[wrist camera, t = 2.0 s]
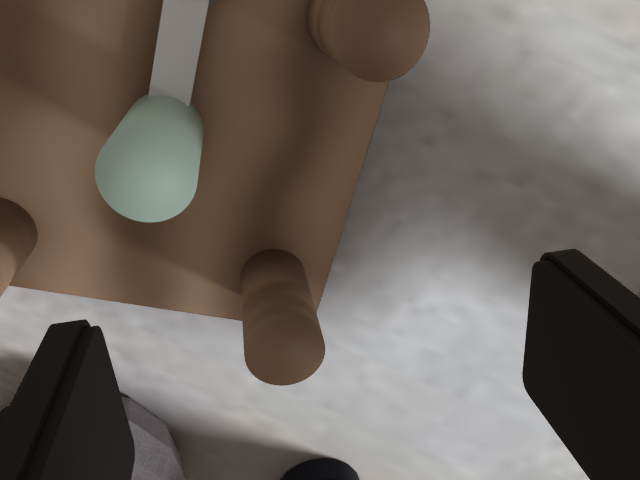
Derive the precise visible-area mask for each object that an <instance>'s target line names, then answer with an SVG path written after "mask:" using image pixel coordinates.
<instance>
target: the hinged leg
mask: <svg viewBox="0 0 640 480" xmlns="http://www.w3.org/2000/svg"><path fill="white" fill-rule="evenodd" d="M208 5H209V0H163V7H162V13H161V19H160V25H159V32H158V38H157V44H156V51H155V57H154V63H153V69H152V76H151V82H150V88H149V94H147V95H144V96H143V97H141V98H140V99H138V100H137V101H136V102H135V103H134V104H133V105H132V107H131V108H130V109H129V111H128V112H127V114H126V115H125V116H124V118H123V119H122V121H121V122H120V123H119V125H118V126H117V128H116V129H115V130H114V132H113V133H112V135H111V136H110V137H109V139H108V140H107V142H106V143H105V145H104V146H103V147H102V149H101V151H100V152H99V154H98V157H97V160H96V165H95V179H96V183H97V187H98V189H99V192H100V193H101V195H102V197H103V198H104V200H105V201H106V202H107V203H108V205H109V206H110V207H111V208H113V209H114V210H115V211H116V212H118V213H119V214H121V215H123V216H125V217H127V218H129V219H132V220H135V221H140V222H160V221H164V220H167V219H170V218H172V217H174V216H176V215H178V214H179V213H181V212H182V211H183V210H184V209H185V208H186V207H187V206H188V205H189V204H190V202H191V200H192V199H193V197H194V195H195V192H196V188H197V182H198V175H199V167H200V159H201V152H202V144H203V136H204V128H203V122H202V119H201V117H200V114H199V113H198V111H197V110H196V108H195V107H194V106H193V105H192V104H191V103H190V101H191V96H192V90H193V85H194V80H195V74H196V69H197V63H198V58H199V53H200V47H201V42H202V37H203V31H204V26H205V21H206V15H207V10H208Z"/></svg>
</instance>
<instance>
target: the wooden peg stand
mask: <svg viewBox="0 0 640 480" xmlns="http://www.w3.org/2000/svg"><path fill="white" fill-rule="evenodd" d="M162 7H163V0H0V297H1V295H2V294H3V292H4V291H5V289H6V288H7V287H8V285H10V286H16V287H23V288H29V289H36V290H43V291H49V292H56V293H62V294H69V295H76V296H82V297H89V298H95V299H102V300H109V301H115V302H122V303H128V304H135V305H142V306H148V307H155V308H161V309H168V310H174V311H181V312H188V313H194V314H201V315H207V316H214V317H221V318H227V319H234V320H240V321H243V337H244V356H245V362H246V365H247V367H248V369H249V370H250V372H251V373H252V374H253V375H254V376H255V377H256V378H258V379H259V380H261V381H263V382H265V383H269V384H273V385H291V384H295V383H298V382H301V381H303V380H305V379H306V378H308V377H310V376H311V375H312V374H313V373H314V372H315V371H316V370H317V369H318V368H319V366H320V365H321V363H322V361H323V358H324V355H325V344H324V340H323V336H322V332H321V329H320V325H319V321H318V318H317V314H316V313H317V310H318V306H319V303H320V300H321V297H322V294H323V290H324V287H325V284H326V281H327V278H328V274H329V271H330V268H331V265H332V262H333V258H334V255H335V252H336V249H337V246H338V242H339V239H340V236H341V233H342V230H343V226H344V223H345V220H346V217H347V214H348V210H349V207H350V204H351V201H352V198H353V194H354V191H355V188H356V185H357V182H358V178H359V175H360V172H361V169H362V166H363V162H364V159H365V156H366V153H367V150H368V146H369V143H370V140H371V137H372V133H373V130H374V127H375V124H376V121H377V117H378V114H379V111H380V108H381V105H382V101H383V98H384V95H385V92H386V89H387V85H388V82H389V81H390V80H393V79H396V78H398V77H400V76H402V75H404V74H405V73H406V72H408V71H409V70H410V69H411V68H412V67H413V66H414V65H415V64H416V63H417V62H418V60H419V59H420V57H421V56H422V54H423V52H424V50H425V48H426V45H427V42H428V38H429V32H430V20H429V13H428V9H427V6H426V4H425V2H424V0H209V5H208V10H207V15H206V21H205V26H204V31H203V37H202V42H201V47H200V53H199V58H198V63H197V69H196V74H195V80H194V85H193V90H192V96H191V101H190V103H191V104H192V105H193V106H194V107H195V108H196V110H197V111H198V113H199V114H200V117H201V119H202V122H203V128H204V136H203V144H202V152H201V159H200V167H199V175H198V182H197V188H196V192H195V195H194V197H193V199H192V200H191V202H190V204H189V205H188V206H187V207H186V208H185V209H184V210H183V211H182V212H181V213H179V214H178V215H176V216H174V217H172V218H170V219H167V220H164V221H160V222H140V221H135V220H132V219H129V218H127V217H125V216H123V215H121V214H119V213H118V212H116V211H115V210H114V209H113V208H111V207H110V206H109V205H108V203H107V202H106V201H105V200H104V198H103V197H102V195H101V193H100V192H99V189H98V187H97V183H96V179H95V165H96V160H97V157H98V154H99V152H100V151H101V149H102V147H103V146H104V145H105V143H106V142H107V140H108V139H109V137H110V136H111V135H112V133H113V132H114V130H115V129H116V128H117V126H118V125H119V123H120V122H121V121H122V119H123V118H124V116H125V115H126V114H127V112H128V111H129V109H130V108H131V107H132V105H133V104H134V103H135V102H136V101H137V100H138V99H140V98H141V97H143V96H144V95H147V94H149V88H150V82H151V76H152V69H153V63H154V57H155V51H156V44H157V38H158V32H159V25H160V19H161V13H162Z"/></svg>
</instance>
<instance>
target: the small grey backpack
mask: <svg viewBox="0 0 640 480" xmlns="http://www.w3.org/2000/svg"><path fill="white" fill-rule="evenodd" d="M121 398H122V402H123V405H124V408H125V412H126V415H127V419H128V422H129V426H130V429H131V433H132V436H133V440H134V446H135V461H134V467H133V472H132V478H131V480H187V479H186V476H185V473H184V470H183V465H182V461H181V457H180V455H179V452H178V450H177V448H176V446H175V444H174V441H173V439H172V437H171V435H170V433H169V430H168V428H167V426H166V424H165V423H164V422H162V421H161V420H160V419H158V418H157V417H155V416H154V415H153V414H151V413H150V412H148V411H147V410H146V409H144V408H143V407H141V406H140V405H138V404H137V403H136V402H134V401H133V400H131V399H130V398H126V397H122V396H121Z"/></svg>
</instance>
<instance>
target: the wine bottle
mask: <svg viewBox="0 0 640 480" xmlns="http://www.w3.org/2000/svg"><path fill="white" fill-rule="evenodd" d="M281 480H359V477H358V475H357V473H356V471H355V470H354V469H352V468H351V467H350V466H349V465H348V464H346V463H343V462H341V461H339V460H334V459H325V458H324V459H315V460H310V461H307V462H304V463H302V464H299V465H297V466H295V467H294V468H293V469H291V470H290V471H288V472H287V473H286V474H285V475H284V476H283V478H282V479H281Z"/></svg>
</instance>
